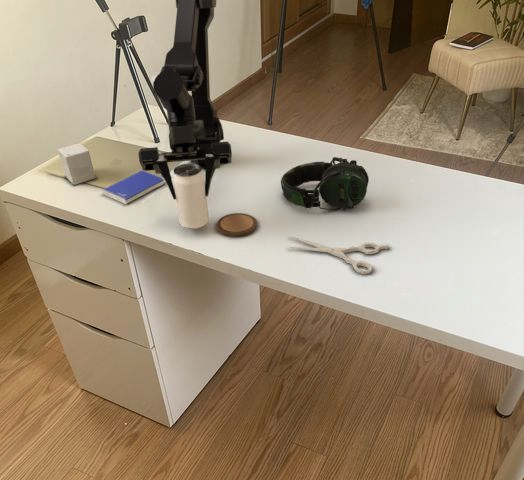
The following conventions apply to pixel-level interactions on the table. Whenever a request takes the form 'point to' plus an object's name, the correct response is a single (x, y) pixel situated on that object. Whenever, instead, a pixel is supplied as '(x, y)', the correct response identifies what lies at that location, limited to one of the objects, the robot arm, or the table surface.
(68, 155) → the product box
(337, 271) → the table surface
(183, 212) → the can
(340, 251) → the scissors
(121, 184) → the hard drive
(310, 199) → the headphones
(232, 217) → the coaster
